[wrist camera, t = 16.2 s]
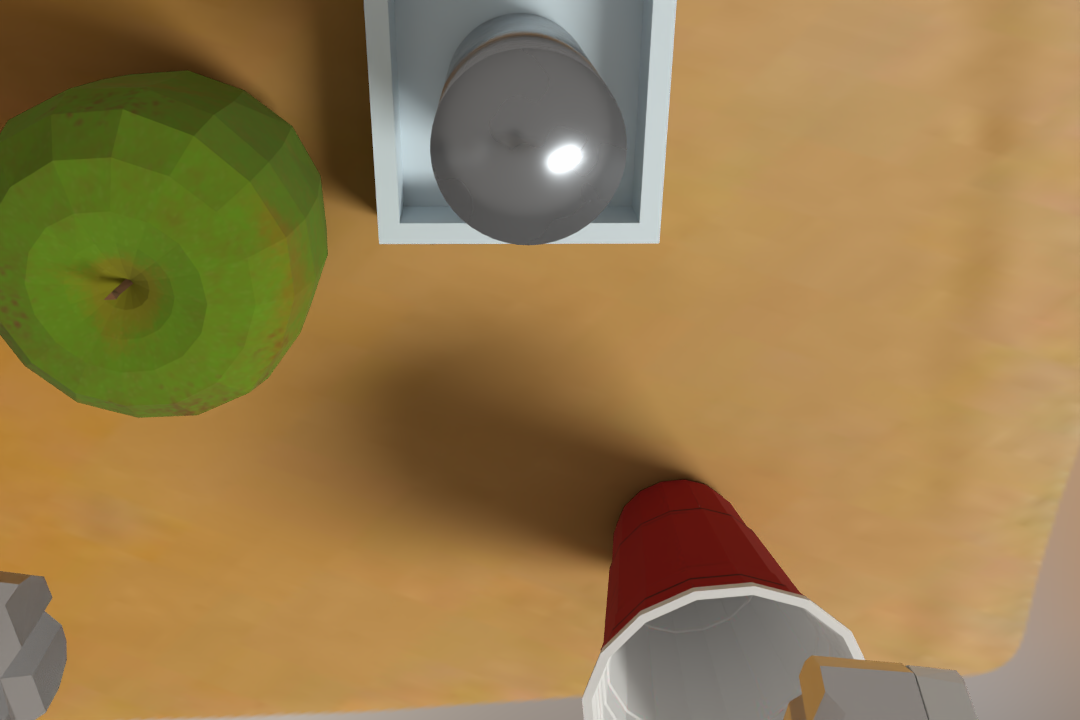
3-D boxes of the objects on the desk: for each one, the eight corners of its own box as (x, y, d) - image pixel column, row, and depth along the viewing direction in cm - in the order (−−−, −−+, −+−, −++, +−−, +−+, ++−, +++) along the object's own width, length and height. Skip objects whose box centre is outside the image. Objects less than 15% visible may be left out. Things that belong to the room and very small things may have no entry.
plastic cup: (763, 399, 43) (855, 567, 32) (801, 581, 47) (893, 781, 36) (533, 462, 43) (546, 646, 33) (593, 634, 48) (622, 846, 37)
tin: (449, 164, 36) (434, 246, 27) (442, 13, 34) (424, 48, 25) (591, 162, 37) (623, 243, 28) (594, 12, 34) (630, 47, 25)
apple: (26, 64, 35) (-155, 125, 25) (317, 45, 35) (250, 100, 25) (103, 337, 40) (-24, 477, 30) (358, 319, 40) (315, 453, 30)
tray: (387, 220, 38) (379, 244, 35) (370, -68, 34) (359, -66, 31) (647, 219, 39) (659, 243, 36) (666, -64, 34) (680, -61, 31)
